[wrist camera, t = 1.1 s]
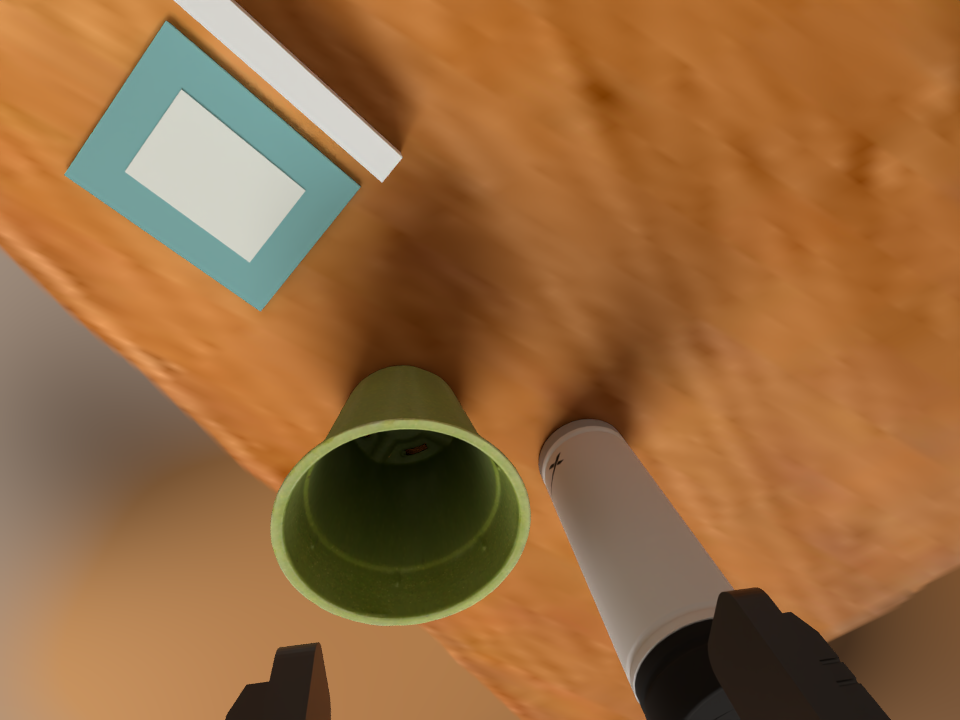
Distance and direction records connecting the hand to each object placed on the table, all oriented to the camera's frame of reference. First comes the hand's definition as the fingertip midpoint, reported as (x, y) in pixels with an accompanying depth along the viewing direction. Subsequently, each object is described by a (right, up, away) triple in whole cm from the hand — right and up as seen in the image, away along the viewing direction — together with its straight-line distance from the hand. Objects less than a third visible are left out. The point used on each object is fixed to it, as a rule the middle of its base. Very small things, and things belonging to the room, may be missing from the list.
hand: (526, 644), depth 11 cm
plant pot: (-6, +2, +25) cm, 26 cm away
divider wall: (-11, +21, +16) cm, 28 cm away
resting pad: (-14, +15, +18) cm, 27 cm away
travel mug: (+6, -1, +28) cm, 29 cm away
